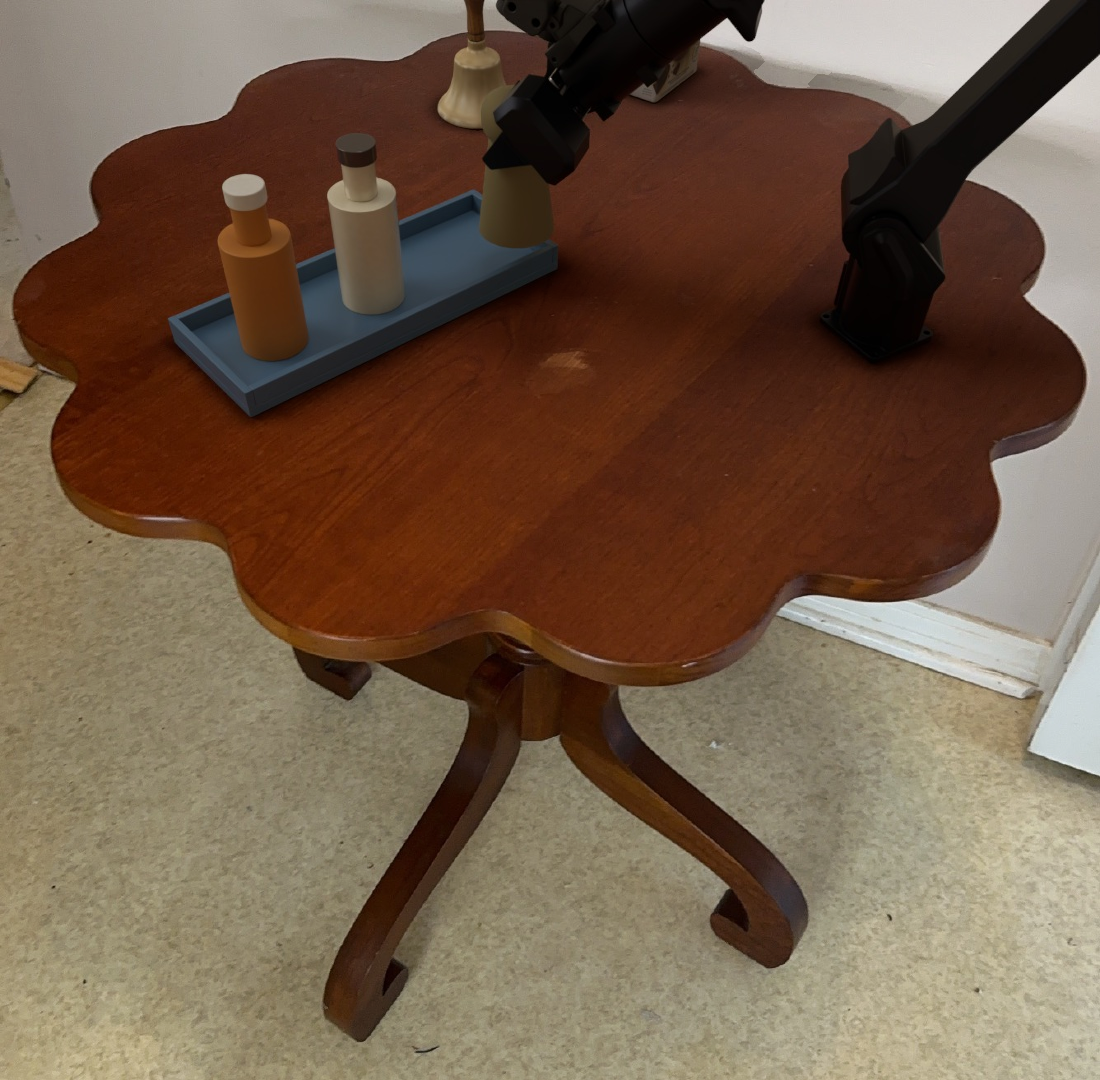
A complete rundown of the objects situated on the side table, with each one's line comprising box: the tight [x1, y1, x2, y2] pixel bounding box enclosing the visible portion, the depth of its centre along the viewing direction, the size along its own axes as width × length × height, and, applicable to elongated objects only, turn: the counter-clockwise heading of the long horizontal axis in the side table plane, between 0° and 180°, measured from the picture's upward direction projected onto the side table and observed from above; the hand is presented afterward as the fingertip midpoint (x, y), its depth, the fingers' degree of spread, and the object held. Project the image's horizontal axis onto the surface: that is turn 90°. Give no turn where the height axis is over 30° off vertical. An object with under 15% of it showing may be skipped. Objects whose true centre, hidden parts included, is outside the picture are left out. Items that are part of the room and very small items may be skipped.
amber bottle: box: [217, 173, 309, 361], centre depth 78 cm, size 5×5×13 cm
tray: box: [167, 188, 559, 418], centre depth 87 cm, size 29×11×2 cm, turn 131°
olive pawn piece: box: [479, 84, 555, 249], centre depth 83 cm, size 6×6×11 cm
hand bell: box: [437, 0, 507, 130], centre depth 103 cm, size 8×8×16 cm
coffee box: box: [629, 39, 701, 103], centre depth 109 cm, size 9×6×16 cm
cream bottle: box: [326, 132, 405, 315], centre depth 82 cm, size 5×5×13 cm
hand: (499, 147), depth 83 cm, fingers closed on olive pawn piece, 5 cm apart
